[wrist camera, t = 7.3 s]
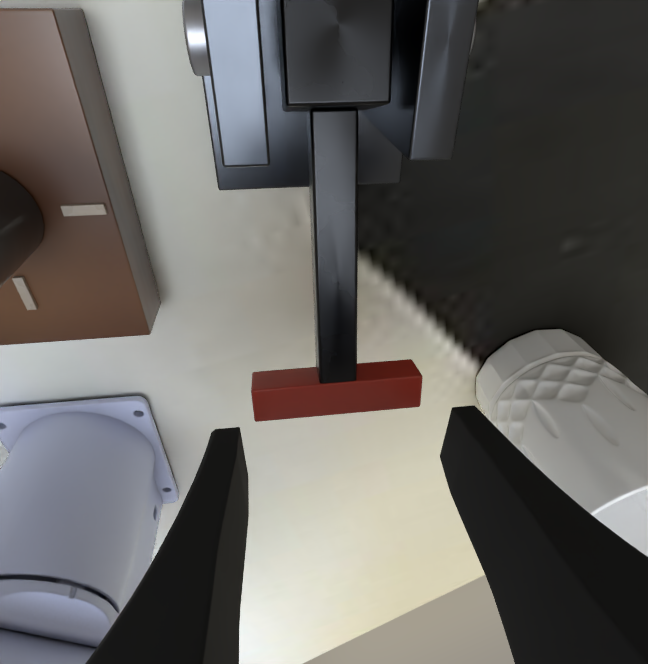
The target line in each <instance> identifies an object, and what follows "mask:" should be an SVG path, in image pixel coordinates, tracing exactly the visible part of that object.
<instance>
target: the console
mask: <svg viewBox="0 0 648 664" xmlns="http://www.w3.org/2000/svg"><path fill="white" fill-rule="evenodd" d="M0 171H1V172H3V173H5V174H6V175H8V176H10V177H11V178H12V179H14V180H15V181H17V182H18V183H19V184H20V185H21V186H22V187H23V188H24V189H25V190H26V191H27V192H28V193H29V194H30V195H31V197H32V198H33V199H34V201H35V202H36V204H37V206H38V208H39V210H40V212H41V215H42V219H43V224H44V232H43V238H42V241H41V243H40V244H39V246H38V247H37V249H36V250H35V251H34V252H33V253H32V254H31V255H30V256H29V257H28V258H27V259H26V261H25V262H24V263H23V264H22V265H21V266H20V267H19V268H18V269H17V270H16V271H15V272H14V273H13V275H12V276H11V277H10V278H9V279H8V280H7V281H6V282H5V283H4V284H3V285H2V286H1V287H0V345H10V344H24V343H38V342H53V341H67V340H81V339H95V338H109V337H123V336H138V335H150V334H151V331H152V328H153V325H154V322H155V319H156V316H157V313H158V310H159V307H160V304H161V302H160V298H159V294H158V290H157V287H156V283H155V279H154V276H153V272H152V268H151V264H150V261H149V257H148V253H147V249H146V246H145V242H144V238H143V234H142V231H141V227H140V223H139V219H138V216H137V212H136V208H135V204H134V201H133V197H132V193H131V189H130V186H129V182H128V178H127V174H126V171H125V167H124V163H123V159H122V156H121V152H120V148H119V145H118V141H117V137H116V133H115V130H114V126H113V122H112V118H111V115H110V111H109V107H108V103H107V100H106V96H105V92H104V88H103V85H102V81H101V77H100V73H99V70H98V66H97V62H96V58H95V55H94V51H93V47H92V43H91V40H90V36H89V32H88V28H87V25H86V21H85V17H84V14H83V10H82V9H80V8H0Z"/></svg>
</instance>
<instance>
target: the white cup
mask: <svg viewBox="0 0 648 664" xmlns="http://www.w3.org/2000/svg"><path fill="white" fill-rule="evenodd" d="M476 397H477V399H478V401H479V403H480V405H481V407H482V409H483V411H484V413H485V415H486V417H487V419H488V420H489V421H490V422H491V423H492V424H493V425H494V426H495V427H496V428H497V429H498V430H499V431H500V432H501V433H502V434H503V435H504V436H505V437H506V438H507V439H508V440H509V441H510V442H511V443H512V444H513V445H514V446H515V447H516V448H517V449H518V450H520V451H521V452H522V453H523V454H524V455H525V456H526V457H527V458H528V459H529V460H530V461H531V462H532V463H533V464H534V465H535V466H536V467H537V468H539V469H540V470H541V471H542V472H543V473H544V474H545V475H546V476H547V477H548V478H549V479H550V480H551V481H553V482H554V483H555V484H556V485H557V486H558V487H559V488H560V489H562V490H563V491H564V492H565V493H566V494H567V495H569V496H570V497H571V498H572V499H573V500H574V501H575V502H577V503H578V504H579V505H580V506H581V507H583V508H584V509H585V510H586V511H587V512H589V513H590V514H591V515H592V516H594V517H595V518H596V519H597V520H599V521H600V522H601V523H603V524H604V525H605V526H607V527H608V528H609V529H611V530H612V531H613V532H614V533H616V534H617V535H618V536H620V537H621V538H622V539H624V540H625V541H626V542H628V543H629V544H630V545H632V546H633V547H635V548H636V549H637V550H639V551H640V552H642V553H643V554H644V555H646V556H647V557H648V395H647V394H646V393H645V392H643V391H642V390H641V389H640V388H638V387H637V386H636V385H634V384H633V383H632V382H631V381H630V380H629V379H628V378H627V377H626V376H625V375H624V374H623V373H621V372H620V371H619V370H618V369H616V368H615V367H614V366H613V365H611V364H610V363H608V362H607V361H605V360H604V359H603V358H602V357H601V356H600V355H599V354H598V353H597V352H595V351H594V350H593V349H592V348H591V347H590V346H589V345H588V344H587V343H586V342H585V341H584V340H582V339H581V338H580V337H578V336H576V335H573V334H571V333H569V332H567V331H565V330H562V329H549V330H535V331H532V332H530V333H527V334H524V335H522V336H519V337H517V338H515V339H512V340H510V341H508V342H507V343H506V344H504V345H503V346H502V347H501V348H499V349H498V350H497V351H496V352H494V353H493V354H492V355H491V356H489V357H488V358H487V360H486V362H485V363H484V365H483V367H482V368H481V370H480V372H479V374H478V375H477V377H476Z"/></svg>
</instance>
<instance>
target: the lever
mask: <svg viewBox="0 0 648 664" xmlns="http://www.w3.org/2000/svg"><path fill="white" fill-rule="evenodd" d="M276 9H277V26H278V43H279V60H280V77H281V94H282V109H283V111H285V112H305V111H308V112H307V134H308V160H309V187H310V213H311V240H312V266H313V293H314V319H315V346H316V367H310V368H297V369H285V370H272V371H260V372H253V374H252V388H251V393H252V402H253V411H254V420H255V421H256V422H257V421H268V420H279V419H290V418H301V417H312V416H323V415H334V414H345V413H356V412H367V411H378V410H389V409H400V408H411V407H419V406H420V400H421V388H422V375H421V373H420V372H419V370H418V369H417V367H416V366H415V364H414V362H413V361H412V360H411V359H409V360H397V361H384V362H372V363H359V364H357V261H358V114H359V112H358V110H368V109H372V108H376V107H380V106H384V105H387V104H389V103H390V101H391V81H392V51H393V22H394V0H276Z"/></svg>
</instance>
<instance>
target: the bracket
mask: <svg viewBox="0 0 648 664" xmlns="http://www.w3.org/2000/svg"><path fill="white" fill-rule="evenodd" d="M478 2H479V0H394V22H393V51H392V81H391V101H390V103H389V104H387V105H384V106H380V107H376V108H372V109H368V110H358V112H359V114H358V185H361V184H386V183H399V182H400V176H401V166H402V157H403V155H404V156H405V157H406V158H407V159H408V160H410V161H426V160H449V159H452V156H453V151H454V145H455V139H456V133H457V127H458V121H459V115H460V109H461V103H462V97H463V91H464V85H465V79H466V73H467V67H468V62H469V56H470V54H471V50H472V47H473V43H474V38H475V31H476V14H477V8H478ZM182 13H183V24H184V32H185V39H186V45H187V50H188V55H189V59H190V63H191V67H192V70H193V72H194V74H195V75H197V76H202V79H203V86H204V93H205V100H206V107H207V114H208V120H209V127H210V134H211V141H212V148H213V155H214V162H215V168H216V175H217V182H218V188H219V190H237V189H262V188H287V187H309V160H308V134H307V112H308V111H305V112H285V111H283V109H282V94H281V77H280V60H279V43H278V26H277V9H276V0H183V2H182Z"/></svg>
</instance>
